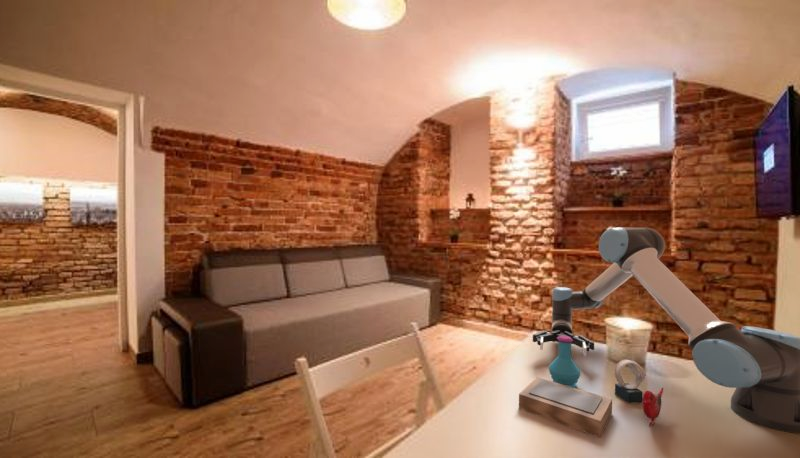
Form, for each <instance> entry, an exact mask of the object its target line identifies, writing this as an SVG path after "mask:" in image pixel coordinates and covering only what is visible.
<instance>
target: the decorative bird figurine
mask: <svg viewBox="0 0 800 458" xmlns="http://www.w3.org/2000/svg"><path fill="white" fill-rule="evenodd" d="M664 389H665V388H664V387H662V388H661V389H660V390H659V391H658V393H653V392H652V391H650V390H646V391H643V403H642V411H643V413H644V415H645V417H646V418H647V419H649V420H650V422H649V425H648V428H650V427H652V426H653V425H654V424H655V420H656V419H657V418H658V417H659V415H660V413H661V409H662V403H663V402H662V396H663V393H664Z"/></svg>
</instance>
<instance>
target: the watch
mask: <svg viewBox="0 0 800 458" xmlns="http://www.w3.org/2000/svg"><path fill="white" fill-rule="evenodd" d="M625 366H628V368H629V370H630V371H631V373H633V375H634V377H635V379H634V380H633V381H632V383H630V382H624V380H623V376H622V373H621V372H622V370H623V368H624V367H625ZM646 374H647V373H646V371H645V369H643V367H642V366H641V365H640V364H639V363H638V362H636V361H635V360H630V359H621V360H620V361H618V362H617V363H616V364H615V367H614V373H613V375H614V378H615V380H616V382H617V383H614V395H615V396H617V397H619V398H620V399H621V400H623V401H624V402H626V403H628V404H638V403H639V404H640V403H642V404H643V394H644V391H642V390H641V389H639V387H640V386H641V385H642V383H643V382H644V381H645V376H646Z"/></svg>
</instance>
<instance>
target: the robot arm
mask: <svg viewBox="0 0 800 458" xmlns="http://www.w3.org/2000/svg"><path fill="white" fill-rule="evenodd" d="M665 250H666V242H665V239H664V237H663V236H662V234H660V232H658V231H657V230H655V229H653V228H649V227H622V226H618V227H611V228H609V229H606V230H605V231H604V232H603V233H602V234H601V236H600V237H599V240H598V252H599V253H598V254H600V255H599V256H600V257H601V258H602V259H603V260H604V261H605V262H607V263H612V264H611V265H610V266H609V267H608V268H606V269H605V270H604V271H603V272H602V273H601V274H599V275H598V276H597V277H596V278H595V279H594V280H593V281H591V283H590V284H588V285H587V286H586V287H585V288H584V289H582V290H581V291H579V290H577V291H573V290H572V288H570V287H565V286H556V287H554V288H553V289H552V295H551V300H552V301H551V303H552V307H551V308H552V309H551V331H550V332H548V331H547V329H543V330H541V331H539V332H536V333H534V334H532V343H533V342H534V343H536V344H537V345H538V346H540V347H539V348H540V351H543V348H544V343H548V342H553V343H555V342H557V344H559V342H558V339H557V337H559V336H561V335H564V336H569V337H571V338H572V340H573V341H571V342H572V343H571V345H575V346H577V347H580V348H582V352H583V354H582V355H583V357H587V352H588V353H589V352H590V350H591V351H594V350H595V342H593V340H590V339H589V338H587V337H585V336H583V334H581V333H578V334H577V335H575V334H574V333H573V327H572V319H573V316H572V314H573V311H575V310H576V311H577V310H588V309H590V310H591V309H598V308H600V307H601V306H602V304H603V302H604V299H605V298H606V297H607V296H609V295H610V294H611V293H613V292H614V291H615V290H616V289H618V288H619V287H620V286H622V285H623V284H624V283H625V282H626V281H628V280H629V279H630V278H632V276H633V277H635V279H636V280H637V281H638V282H639V284H641V285H642V287H644V289H646V291H647V292H648V293H649V294H650V295H651V296H652V298H653V299H654V300H655V301H656V302H657V303H658V304H659V306H660V307H662V309H663V310H664V311H665V312H666V314H668V315H669V316H670V318H671V319H673V321H674V322H675V323H676V324H677V325H678V326H679V327H680V328H681V330H682V331H683V332H684V333H685V334H686V335H687V336H688V347H690V349H691V350H692V352H691V355H692V357H693V359H692V361H693V364H694V365H695V367H696V369H697V370H698V371H699V372H700V374H702V376H704V378H706V379H707V380H709V381H710V382H712V383H714V384H716V385H719V386H722V387H725V388H731V389H733V388H734V392H733V393H732V396H730V397H731V398H730V408H731V410H732V411H733V412H734V413H736V414H737V415H739V416H740V417H742V418H744V419H745V420H748V421H751V422H752V423H755V424H758V425H761V426H764V427H767V428H771V429H774V430H778V431H780V432H781V431H782V432H786V433H793V434H794V433H795V434H800V337H799V336H797V335H794V334H792V333H791V334H790V333H787V332H783V331H779V330H778V331H777V330H774V329H768V328H764V327H757V326H752V325H751V326H749V325H748V326H747V325H746V326H745V325H744V326H742V327H741V330H740V329H739V328H737V326H736V325H735V324H733V323H732V322H729V321H723V320H720V318H718V316H716V314H715V313H714V312H712V311H711V309H709V308H708V307H707V305H705V303H703V302H702V301H701V299H700V298H699V297H697V296H696V295H695V294H694V293H693V291H691V290H690V289H689V288H688V287H687V286H686V285H685V284H684V283H683V282H682V281H681V280H680V279H679V278H678V277H677V276H676V275H675V274H674V273H673V272H672V271H671V270H670V269H669V268H668V267H667V266H666V265H665V264H664V263H663V262H662V261H661V260H660V259H661V257H662V255H664V253H665Z"/></svg>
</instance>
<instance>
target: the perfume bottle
mask: <svg viewBox="0 0 800 458" xmlns="http://www.w3.org/2000/svg"><path fill="white" fill-rule="evenodd" d="M557 339H558V342H559V343H558V342H557V343H558V354H557V355H558V356H557V357H555V359H554V360H553V361H552V362H551V363H550V364H548V370H549V374H550V376H551V379H552V382H556V383H559V384H563V385H566V386H569V387H573V388H577V387H576V386H577V383H578V381H579V379H580V377H581V369H580V368H579V367H578V365H577V364H576V363H575V361H574V360H573V359H572V356H571V355H572V344H571V343H572V342H571V341H573V340H572V338H571V337H569V336H564V335H561V336H559V337H557Z"/></svg>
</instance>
